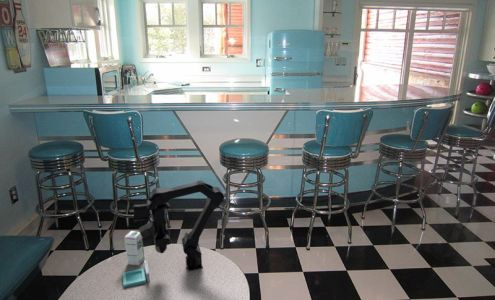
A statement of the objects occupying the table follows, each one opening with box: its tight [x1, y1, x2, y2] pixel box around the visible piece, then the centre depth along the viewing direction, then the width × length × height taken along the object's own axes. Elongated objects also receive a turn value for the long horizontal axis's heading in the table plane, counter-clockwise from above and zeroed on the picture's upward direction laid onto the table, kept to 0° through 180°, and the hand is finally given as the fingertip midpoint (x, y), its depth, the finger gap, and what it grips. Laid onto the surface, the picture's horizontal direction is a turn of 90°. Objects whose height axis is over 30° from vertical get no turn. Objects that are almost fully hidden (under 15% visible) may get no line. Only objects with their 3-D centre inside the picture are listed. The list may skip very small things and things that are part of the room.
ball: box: [154, 245, 168, 254], centre depth 152 cm, size 5×5×5 cm
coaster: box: [122, 267, 147, 288], centre depth 150 cm, size 9×9×1 cm
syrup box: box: [123, 230, 146, 266], centre depth 161 cm, size 6×6×14 cm
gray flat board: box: [143, 259, 151, 283], centre depth 153 cm, size 1×11×4 cm, turn 20°
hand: (161, 249), depth 153 cm, fingers closed on ball, 5 cm apart
